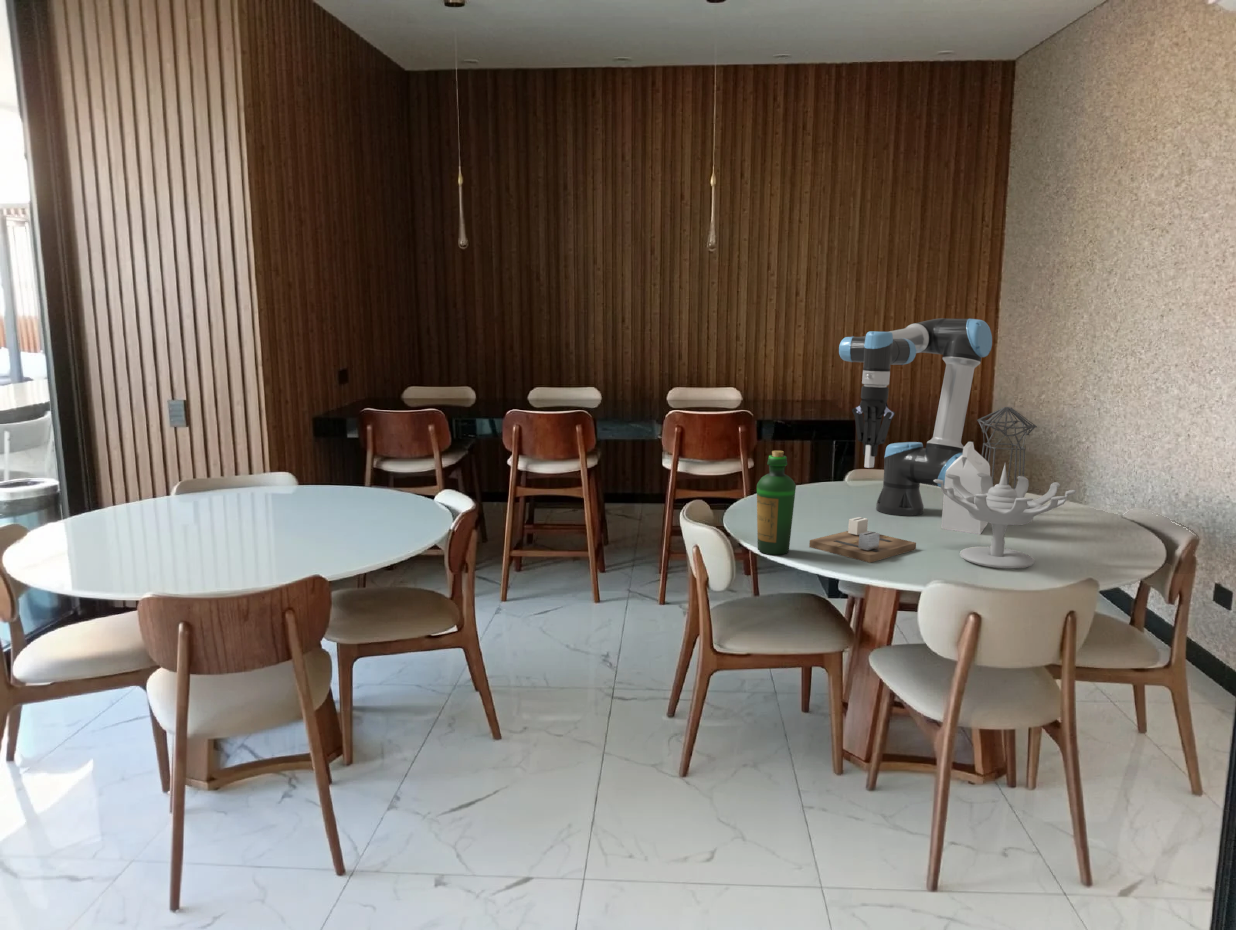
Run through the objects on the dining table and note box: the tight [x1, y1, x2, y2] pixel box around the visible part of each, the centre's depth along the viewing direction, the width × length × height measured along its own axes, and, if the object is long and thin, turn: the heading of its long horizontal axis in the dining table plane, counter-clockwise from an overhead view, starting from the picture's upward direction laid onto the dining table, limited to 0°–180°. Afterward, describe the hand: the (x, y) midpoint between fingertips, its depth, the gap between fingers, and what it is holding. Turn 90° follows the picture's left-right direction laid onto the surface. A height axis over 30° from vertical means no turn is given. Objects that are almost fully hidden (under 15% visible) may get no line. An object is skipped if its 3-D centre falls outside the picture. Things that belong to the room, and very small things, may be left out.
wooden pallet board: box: [808, 530, 917, 563], centre depth 256 cm, size 20×22×2 cm
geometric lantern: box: [976, 406, 1038, 490], centre depth 307 cm, size 16×16×35 cm
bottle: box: [756, 450, 797, 556], centre depth 249 cm, size 11×11×28 cm
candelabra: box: [933, 463, 1077, 570], centre depth 243 cm, size 34×35×27 cm
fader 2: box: [859, 530, 881, 550], centre depth 248 cm, size 3×5×4 cm, turn 130°
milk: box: [940, 441, 991, 535], centre depth 278 cm, size 12×12×26 cm
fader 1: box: [847, 516, 869, 535], centre depth 264 cm, size 3×5×4 cm, turn 130°
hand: (869, 467), depth 265 cm, fingers closed
